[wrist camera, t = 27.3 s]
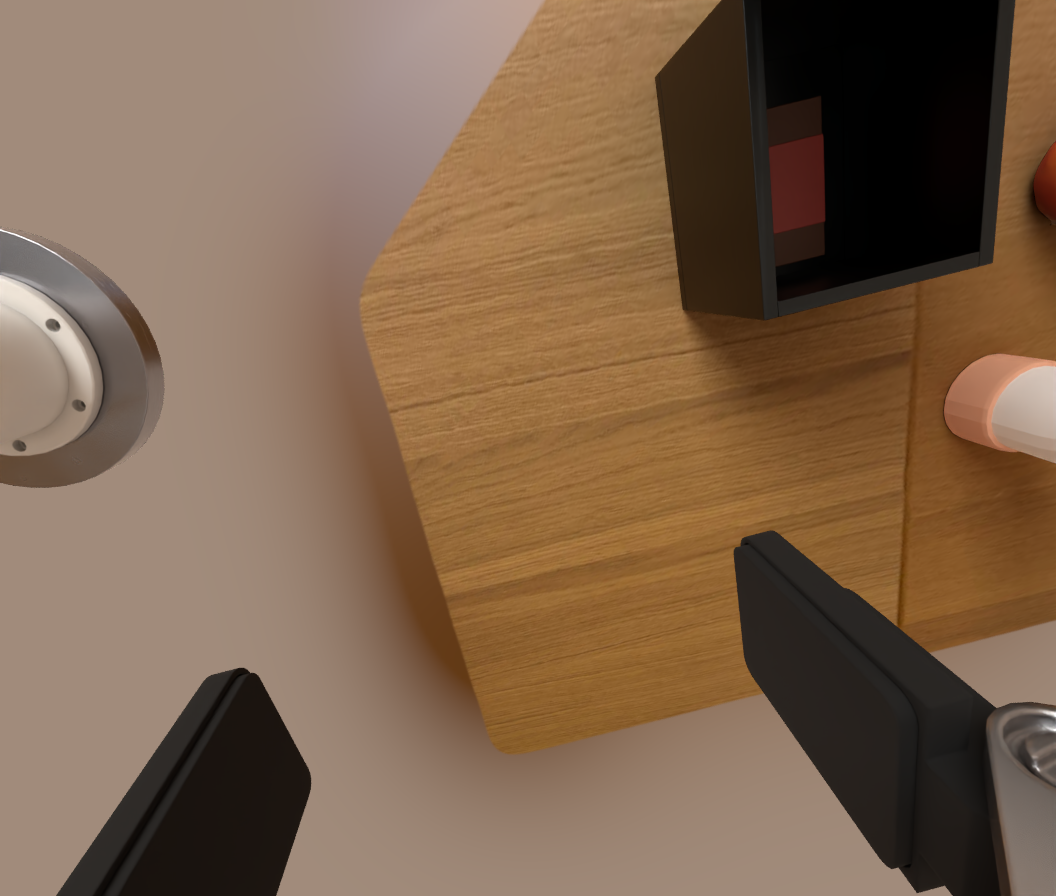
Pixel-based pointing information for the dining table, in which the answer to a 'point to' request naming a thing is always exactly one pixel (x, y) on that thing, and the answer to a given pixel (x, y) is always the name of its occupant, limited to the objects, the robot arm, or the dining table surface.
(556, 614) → the dining table surface
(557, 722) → the dining table surface
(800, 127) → the chocolate bar
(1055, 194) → the fruit
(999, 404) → the salt shaker
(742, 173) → the trash bin
